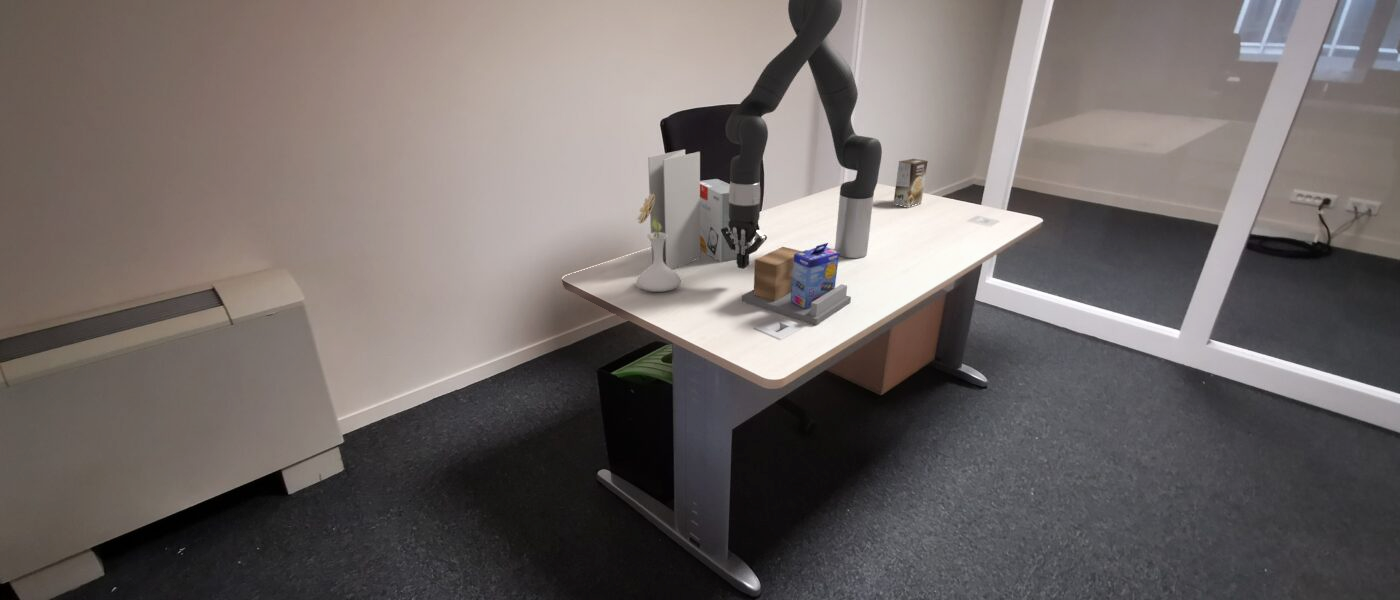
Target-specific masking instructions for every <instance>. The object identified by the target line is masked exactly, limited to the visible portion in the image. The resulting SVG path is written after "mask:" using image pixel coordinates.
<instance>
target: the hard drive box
mask: <svg viewBox="0 0 1400 600" xmlns="http://www.w3.org/2000/svg"><path fill="white" fill-rule="evenodd" d="M729 188H730V183H728V182H725V181H723V180H720V179H718V178H713V179H706V180H700V251H702V250H703V252H705V254H707V255H709V256H710V257H711V258H713V259H714V258H715V259H714V260H716V261H717V262H719V263H724V261H725V262H730V261H735V260H737V253H736V251H735V250H731V249H730V247H729V245H728V243H727V242H726V240H725V238H724V236H723V234H722V232H721V229H722V228H725V227H727V226H728V223H729V221H730V219H729ZM731 241H732V240H731ZM729 260H730V261H729Z"/></svg>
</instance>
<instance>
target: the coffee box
mask: <svg viewBox="0 0 1400 600" xmlns="http://www.w3.org/2000/svg"><path fill="white" fill-rule="evenodd" d="M928 162H929V161H928V160H924V159H917V158H910V159H904V160H903V159H902V160H900V161H898V166H897V173H896V174H897V175H896V179H895V180H896V182H895V190H894V196H893V202H892V203H893V204H898V205H902V206H906V207H909V206H912V205H915V204H918V203H921V204H922V200H923V194H924V187H925V183H926V182H925V181H926V174H927V169H928V168H927V167H928ZM893 204H892V205H893ZM909 208H910V207H909Z"/></svg>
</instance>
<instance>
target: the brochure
mask: <svg viewBox="0 0 1400 600" xmlns="http://www.w3.org/2000/svg"><path fill="white" fill-rule="evenodd" d="M647 161H648V162H647V164H648V167H647V168H648V191H649V195H650V193H651V195H653V193H654V195H655V203H654V205H653V208H652V211H653V213H654V215H655V217H656V219H657V221H658V223H659V224H660V225H661V227H662V228H661V230H660V231H659V232H661V233H666V234H667V235H668V236H667V238H666V239H665V241H664V244H663V262H665V265H666V266H667V267H669V268H670V269H672V270H674V269H677V268H679V266H680V267H682V266H684V265H687V264H689V263H692V262H694V261H696V260H698V258H699V259H700V258H701V249H700V181H701V151H696V152H693V153H692V152H691V153H687V154H686V149H680V150H674V151H671V152H666V153H662V154H658V155H653V156H648V157H647ZM649 195H648V196H649ZM654 219H655V218H654V216H653V214H652V213H650V214H649V221H650V233H655V232H656V230H655V229H654V228H653V227H652V226H651V224H652V222H653V220H654ZM650 248H651V249H650V251H651V252H650V253H651V265H652V264H653V260H654V253H653V246H652V243H651V242H650ZM695 259H696V260H695ZM693 260H694V261H693ZM686 263H687V264H686Z"/></svg>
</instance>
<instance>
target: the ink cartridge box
mask: <svg viewBox="0 0 1400 600" xmlns="http://www.w3.org/2000/svg"><path fill="white" fill-rule="evenodd" d="M828 245H829V242H825V243H823V244H819V245H816V247H813V248H812V249H811V248H810V249H806V250H801V251H802V252H799V253H796V254H794V265H793V277H792V289H791V302H793V303H795V304H797V305H799V306H800V307H802V308H804V309H807V308H810V307H811V302H813V301H815V300H816V299H818V298H820V297H821V296H823V295H825V294H826V293H828V292H829V291H831V290H833V289H834V288H836V281H837V274H838V267H839V259H840V258H839V252H838V251H835V249H832V248H830V247H828Z"/></svg>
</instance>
